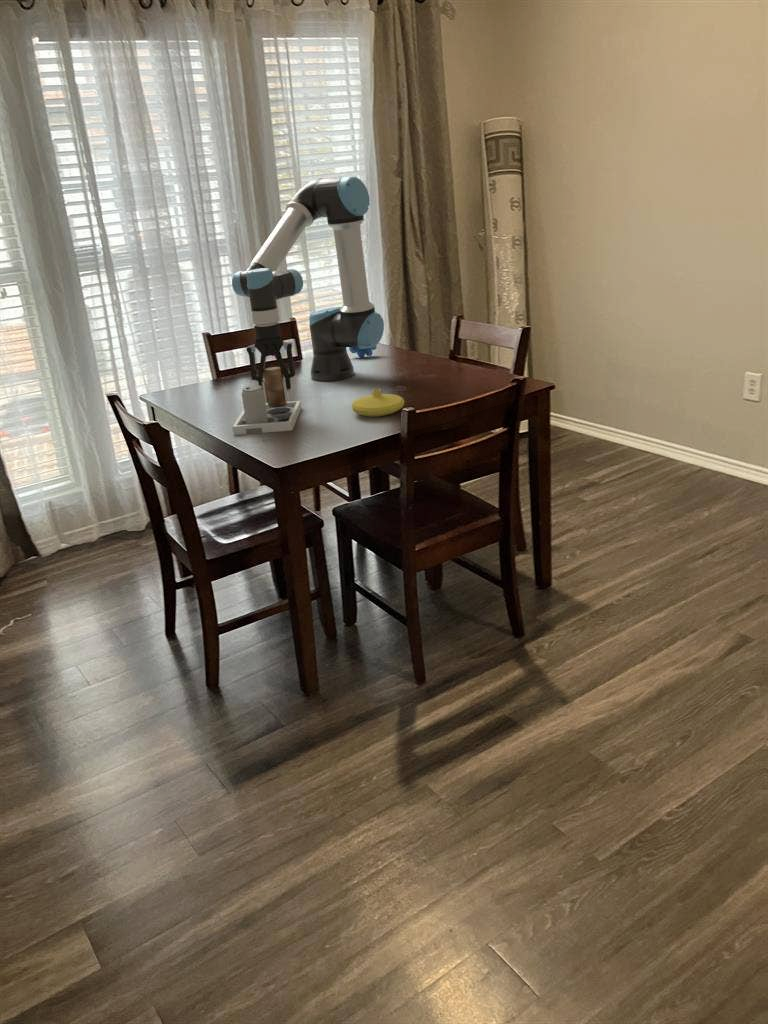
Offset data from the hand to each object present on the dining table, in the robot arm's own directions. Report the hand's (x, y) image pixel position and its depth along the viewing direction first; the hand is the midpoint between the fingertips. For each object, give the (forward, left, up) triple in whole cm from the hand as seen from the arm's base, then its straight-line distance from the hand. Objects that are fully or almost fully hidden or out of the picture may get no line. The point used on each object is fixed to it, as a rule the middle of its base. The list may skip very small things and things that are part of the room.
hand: (277, 400), depth 260 cm
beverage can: (+5, +10, -5) cm, 12 cm away
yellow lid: (-31, +5, -5) cm, 31 cm away
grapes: (-22, -69, -5) cm, 73 cm away
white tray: (+2, +5, -5) cm, 7 cm away
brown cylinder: (0, 0, -1) cm, 1 cm away
